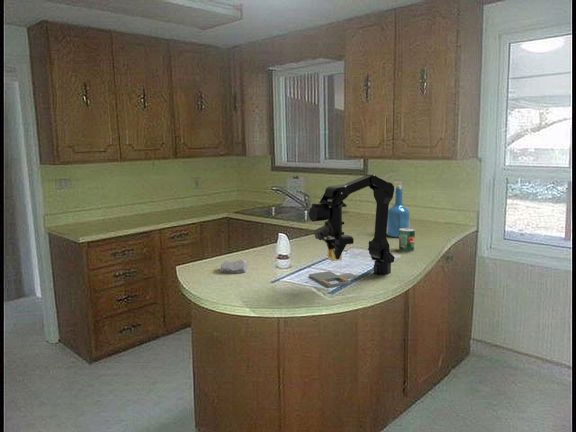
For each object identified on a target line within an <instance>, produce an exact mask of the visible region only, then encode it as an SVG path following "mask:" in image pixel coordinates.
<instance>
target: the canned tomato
mask: <svg viewBox="0 0 576 432" xmlns="http://www.w3.org/2000/svg"><path fill="white" fill-rule="evenodd" d="M415 232H416V229H415V228H412V227H410V228H401V229H399V239H398V250H399V252H402V253H403V252H404V253H413V252H414V251H415V244H416V243H415V241H416V234H415Z"/></svg>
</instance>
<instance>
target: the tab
mask: <svg viewBox="0 0 576 432" xmlns="http://www.w3.org/2000/svg"><path fill="white" fill-rule="evenodd" d="M338 275H339V276H341V277H343V278H345V279H347V280H351V279H357V278H359V276H358V275H355V274H353V273H351V272H346V273H341V274H338Z"/></svg>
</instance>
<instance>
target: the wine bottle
mask: <svg viewBox="0 0 576 432" xmlns="http://www.w3.org/2000/svg"><path fill="white" fill-rule="evenodd" d="M394 194H395V195H394V196H395V199H394V204H393V205H392V206H391V207H390V206H389V208H388V221H387V235H386V236H387V237H391V238H396V239H397V238H399V229H401V228H411V227H410V226H411V225H410V224H411V219H410V218H411V211H410V209H409V208H408V207H407V206H404V204H403V188H402V185H396V187H395V190H394Z"/></svg>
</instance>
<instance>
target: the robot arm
mask: <svg viewBox="0 0 576 432" xmlns="http://www.w3.org/2000/svg"><path fill="white" fill-rule="evenodd" d="M367 187H368V188H370V189H371V190H372V191H373V192H372V194H373V198H374V200H375V202H376V208H375V221H374V237H373V238H372V240H368V248H367V251H368V254H369V255H370V258H371V260H372V261H373V262H374V264H373V275H376V276H387V275H389V274H392V272H391V271H392V263H394V262H395V260H396V259H395V258H396V257H395V255H394V254H392V253H391V252H390V244H389V242H388V239H387V236H388V235H387V221H388V210H389V208H390V206H389V204H390V203H391V201H392V199H394V194H395V185H394V184H393V183H392V182H389V181H386V180H384V179H382V178H380V177H378V176H377V175H375V174H371V173H367V174H365V175H364V176H361V177H359V178H356V179H353V180H351V181H348V182H346V183H344V184H337V185H335V184H334V185H331V186H328V187H326V188H325V190H324V194H323V195H322V197H321V199H320V201H319V202H318V203H312V204H311V207H310V208H309V211H308V217H309V219H310V220H309V221H311V222H315V223H316V222H321V221H324V225H323V226H320V227H318V228H316V229H314V230H312V231H313V235H314V237H315V239H316V240H319V241H323V242H324V243H326V246H327V250H328V249H333V248H335V254H336V259H339V258H340V256H341V254H342V255H343V252H344V250H345V248H346V246H347V245H353V244H354V237H353V236H352V235H349V234H345V232H344V231H343V226H344V225H345V221H343V208H347V206H348V205H347V204H346V203H345V202H344V200H347V198H348V197H349V195H351V194H354V193H356V192H358V191H361V190H363V189H365V188H367Z"/></svg>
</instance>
